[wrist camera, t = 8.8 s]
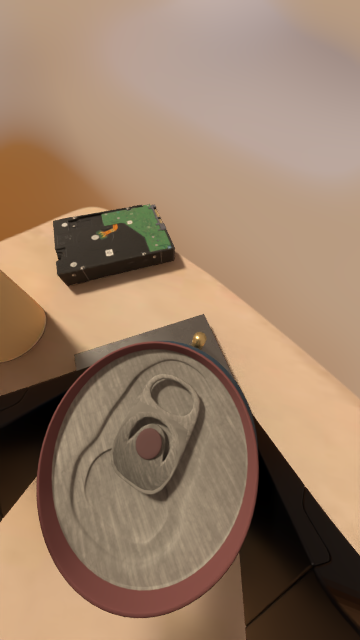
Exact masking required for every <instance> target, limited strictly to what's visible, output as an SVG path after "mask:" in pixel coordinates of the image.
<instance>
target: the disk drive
mask: <svg viewBox="0 0 360 640" xmlns="http://www.w3.org/2000/svg"><path fill="white" fill-rule="evenodd" d="M53 227H54V241H55V250H56V253H57V256H58V259H59V260H58V261H56V266H57V275H58V276H59V277H60V278H61V280H62V281H63V282H64V283H65V284H66V285H67V286H69V285H73V284H77V283H78V284H79V283H83V282H87V281H90V280H94V279H98V278H102V277H106V276H110V275H115V274H119V273H123V272H127V271H131V270H136V269H139V268H144V267H148V266H152V265H158V264H162V263H165V262H170V261H173V260H174V259H175V247H174V245H173V243H172V241H171V238H170V236H169V234H168V232H167V230H166V227H165V225H164V223H163V222H162V220H161V218H160V215H159V213H158V211H157V209H156V206H155V205H151V206H150V204H149V205H143V206H142V205H137V206H132V207H129V208H122V209H116V210H110V211H104V212H100V213H93V214H87V215H82V216H77V217H69V218H64V219H60V220H55V221H53Z"/></svg>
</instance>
